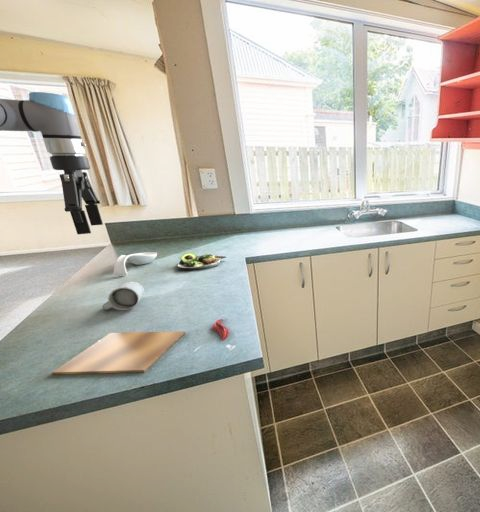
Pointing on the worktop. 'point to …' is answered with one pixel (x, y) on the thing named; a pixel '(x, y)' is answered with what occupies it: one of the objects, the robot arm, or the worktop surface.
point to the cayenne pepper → (220, 329)
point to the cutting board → (121, 353)
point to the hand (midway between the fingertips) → (91, 229)
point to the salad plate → (198, 261)
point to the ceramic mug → (125, 296)
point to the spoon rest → (132, 261)
